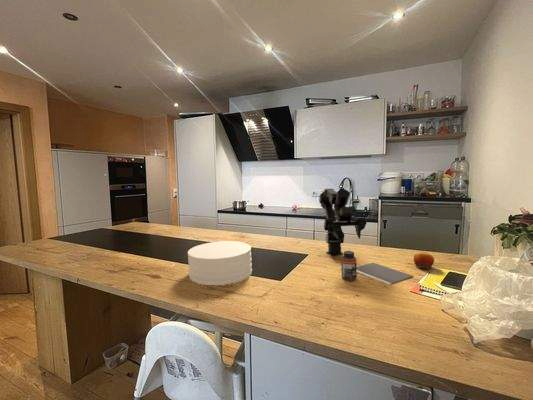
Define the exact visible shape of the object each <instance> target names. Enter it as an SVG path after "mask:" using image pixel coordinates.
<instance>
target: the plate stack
mask: <svg viewBox="0 0 533 400" xmlns="http://www.w3.org/2000/svg"><path fill="white" fill-rule="evenodd" d="M251 251H252V246H251V245H250V244H248V243H246V242H242V241H234V240H232V241H231V240H227V241H226V240H223V241H214V242H212V241H211V242H206V243H201V244H198V245H195V246H193V247H191V248H190V249H189V250H187V259H188V260H187V263H188V273H189V274H188V277H190V278H189V280H190V279H191V280H192V281H194V282H196V283H199V284H204V285H222V286H226V285H225V284H229V285H232V284H231V283H233V284H236V282H237V283H240V282H241V281H244V280H246V279H249V277H250V276H251V275H252V273H253V268H252V267H253V266H252V252H251ZM191 280H190V281H191ZM192 281H191V282H192ZM196 283H195V284H196ZM199 284H198V285H199ZM204 285H203V286H204Z"/></svg>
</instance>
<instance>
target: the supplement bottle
mask: <svg viewBox="0 0 533 400" xmlns="http://www.w3.org/2000/svg"><path fill="white" fill-rule="evenodd" d="M357 262H358V261H357V258H356V257H355V251H353V250H352V251H351V250H344V251H343V256H342V257H341V278H342V279H343V280H344V281H348V282H352V281H356V280H357V274H358V273H357V267H358V266H357V265H358V264H357Z"/></svg>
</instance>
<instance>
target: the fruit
mask: <svg viewBox="0 0 533 400" xmlns="http://www.w3.org/2000/svg"><path fill="white" fill-rule="evenodd" d="M413 263H414V265H415V267H417V268H418V269H420V268H421V269H427V270H428V271H429V269H431V268H432V267H433V265H434V263H435V258H434V256H433V255H432V254H430V253H428V252H424V251H423V252H421V251H420V252H417V253H415V254H414V255H413Z"/></svg>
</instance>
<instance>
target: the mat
mask: <svg viewBox="0 0 533 400" xmlns="http://www.w3.org/2000/svg"><path fill="white" fill-rule="evenodd" d="M357 274H359V275H362V276H364V277H367V278H370V279H372V280H374V281H376V282H379V283H382V284H384V285H386V286H390V285H393V284H396V283H399V282H402V281H405V280H409V279H410V278H413V277H414V275H412V274H409V273H406V272H402V271H399V270H397V269H394V268H391V267H388V266H385V265H382V264H379V263H375V262H371V263H366V264H364V265H360V266H357Z"/></svg>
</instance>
